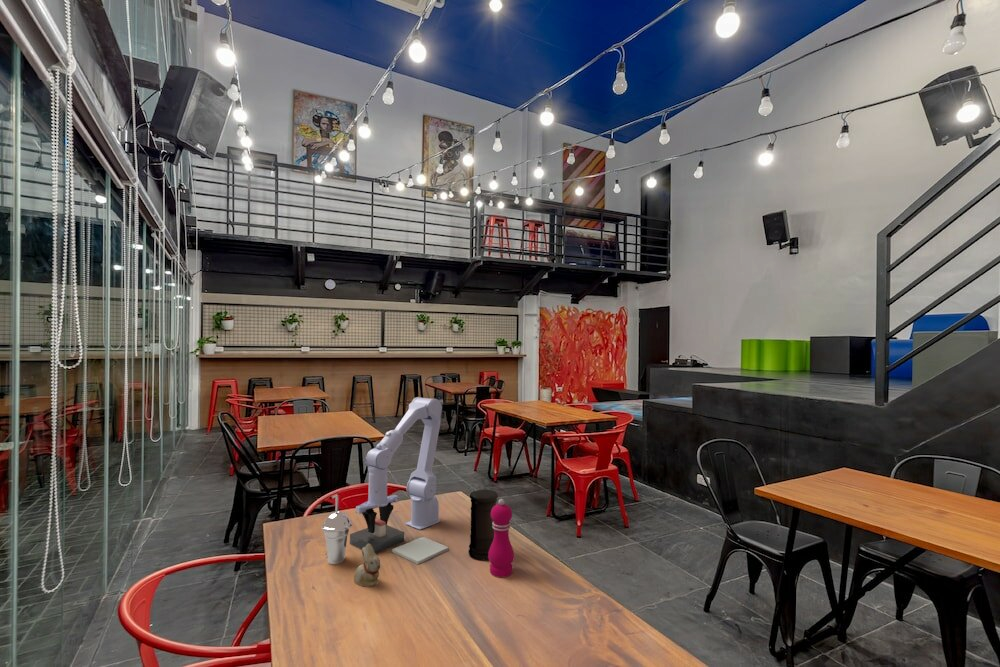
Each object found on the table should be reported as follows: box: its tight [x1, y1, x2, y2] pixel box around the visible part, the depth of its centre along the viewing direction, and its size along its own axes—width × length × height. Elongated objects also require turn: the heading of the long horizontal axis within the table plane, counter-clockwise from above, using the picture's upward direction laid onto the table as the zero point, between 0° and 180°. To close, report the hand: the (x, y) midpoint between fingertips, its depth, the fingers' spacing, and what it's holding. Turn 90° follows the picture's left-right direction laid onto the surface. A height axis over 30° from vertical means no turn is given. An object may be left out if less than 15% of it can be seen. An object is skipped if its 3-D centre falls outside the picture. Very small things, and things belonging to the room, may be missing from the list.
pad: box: [391, 536, 449, 565], centre depth 137 cm, size 12×12×1 cm
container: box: [468, 489, 499, 561], centre depth 136 cm, size 9×9×18 cm
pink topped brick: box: [369, 517, 386, 537], centre depth 143 cm, size 2×6×7 cm, turn 50°
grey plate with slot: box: [349, 524, 405, 555], centre depth 143 cm, size 12×12×3 cm
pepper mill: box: [488, 498, 515, 578], centre depth 125 cm, size 7×7×20 cm
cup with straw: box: [320, 493, 353, 565], centre depth 131 cm, size 8×9×20 cm
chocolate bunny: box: [353, 544, 381, 588], centre depth 119 cm, size 6×8×10 cm
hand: (377, 530), depth 143 cm, fingers open, 4 cm apart
